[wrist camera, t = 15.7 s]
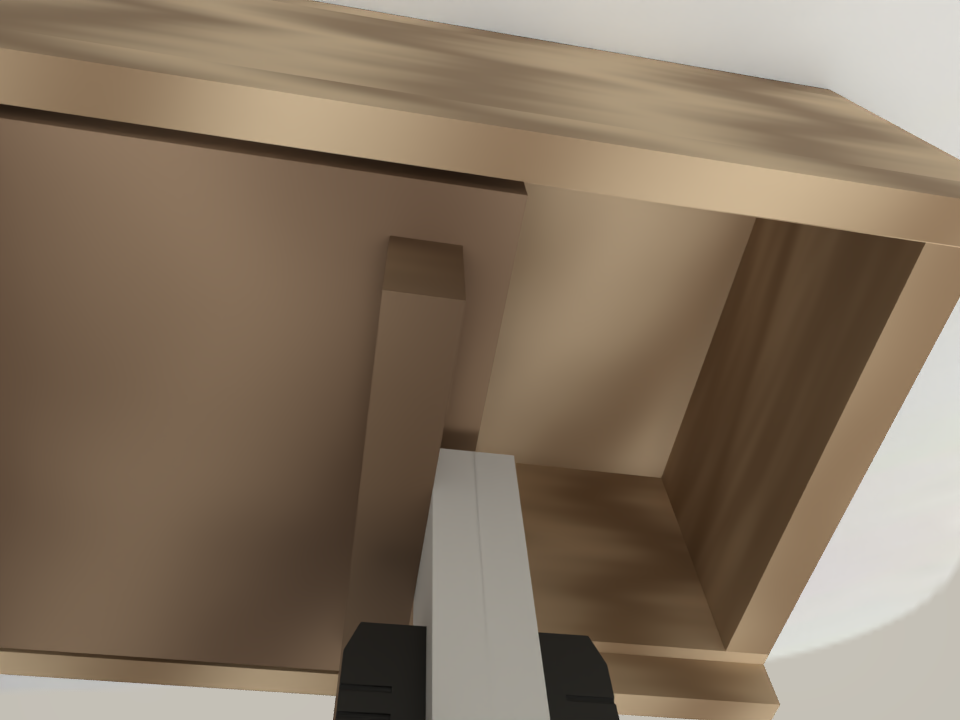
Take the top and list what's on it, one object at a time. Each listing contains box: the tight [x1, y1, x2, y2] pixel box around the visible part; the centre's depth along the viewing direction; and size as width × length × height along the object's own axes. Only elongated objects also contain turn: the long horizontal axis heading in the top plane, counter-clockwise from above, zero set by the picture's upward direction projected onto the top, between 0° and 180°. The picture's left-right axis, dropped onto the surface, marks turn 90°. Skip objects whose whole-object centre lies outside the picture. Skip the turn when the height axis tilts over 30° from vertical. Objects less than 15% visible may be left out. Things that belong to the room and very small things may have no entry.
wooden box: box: [0, 0, 960, 720], centre depth 19 cm, size 20×14×9 cm
